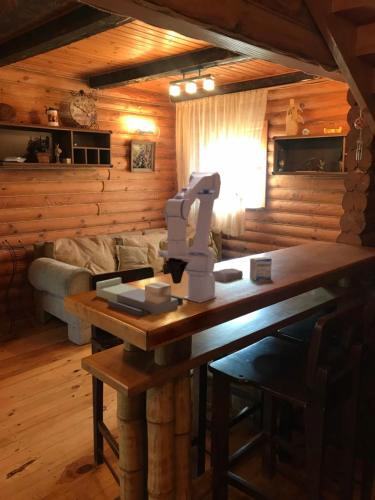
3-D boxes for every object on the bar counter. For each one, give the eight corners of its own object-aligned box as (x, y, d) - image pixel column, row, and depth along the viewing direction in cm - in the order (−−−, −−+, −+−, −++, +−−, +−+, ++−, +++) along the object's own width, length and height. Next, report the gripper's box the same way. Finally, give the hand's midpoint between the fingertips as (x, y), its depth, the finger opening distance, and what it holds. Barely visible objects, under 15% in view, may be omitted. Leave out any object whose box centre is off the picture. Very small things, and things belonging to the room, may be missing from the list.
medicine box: (255, 280, 176) (256, 260, 174) (249, 278, 180) (249, 258, 178) (271, 278, 179) (272, 258, 177) (265, 276, 183) (265, 256, 181)
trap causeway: (128, 288, 164) (128, 275, 163) (187, 304, 144) (187, 290, 143) (86, 298, 150) (85, 284, 150) (144, 318, 130) (144, 303, 129)
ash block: (158, 296, 143) (158, 281, 142) (171, 299, 139) (171, 284, 138) (144, 300, 139) (144, 285, 138) (157, 303, 135) (157, 288, 134)
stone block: (208, 283, 179) (226, 282, 172) (206, 271, 179) (224, 270, 172) (226, 279, 188) (244, 278, 180) (225, 268, 188) (243, 267, 180)
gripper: (150, 238, 132) (151, 281, 134) (185, 243, 122) (185, 289, 124) (167, 235, 137) (167, 277, 139) (201, 240, 127) (201, 285, 130)
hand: (177, 283), depth 132 cm, fingers closed
